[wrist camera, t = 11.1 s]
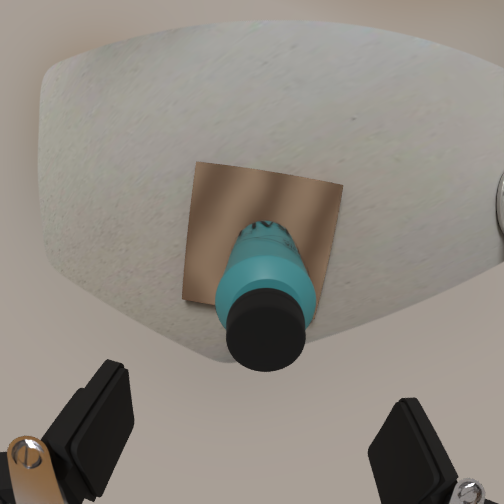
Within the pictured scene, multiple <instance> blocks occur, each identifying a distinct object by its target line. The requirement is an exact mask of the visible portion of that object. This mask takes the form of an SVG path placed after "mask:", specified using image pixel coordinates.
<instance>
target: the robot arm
mask: <svg viewBox="0 0 504 504" xmlns="http://www.w3.org/2000/svg"><path fill="white" fill-rule="evenodd" d="M497 215H498V221H499V225H500V227H501V230H502V232H503V234H504V173H503V175H502V178H501V180H500V184H499V187H498V193H497ZM133 426H134V414H133V407H132V399H131V391H130V383H129V372H128V369H125V368H124V365H123V364H122V363H119V362H115V361H112V360H109V359H107V360H106V361H105V362H104V363H103V364H102V366H101V367H100V368H99V369H98V371H97V372H96V373H95V375H94V376H93V377H92V379H91V380H90V381H89V383H88V384H87V385H86V387H85V388H80V389H78V390H77V391H76V393H75V394H74V395H73V396H72V398H71V399H70V400H69V402H68V403H67V404H66V406H65V407H64V408H63V410H62V411H61V413H60V414H59V415H58V417H57V418H56V419H55V421H54V422H53V423H52V425H51V426H50V428H49V429H48V430H47V432H46V433H45V435H44V436H43V437H42V439H41V440H39V439H38V438H35V437H32V436H21V437H18V438H16V439H14V440H13V441H12V442H11V443H10V444H9V447H8V449H7V452H0V504H82V502H83V500H84V498H85V499H88V500H90V501H92V502H94V501H95V499H96V497H101V496H102V494H103V493H104V490H105V488H106V486H107V484H108V481H109V479H110V477H111V475H112V473H113V470H114V468H115V466H116V464H117V461H118V459H119V457H120V455H121V453H122V451H123V449H124V446H125V444H126V442H127V440H128V438H129V436H130V434H131V432H132V429H133ZM368 457H369V461H370V464H371V468H372V471H373V475H374V478H375V482H376V485H377V489H378V493H379V496H380V500H381V504H498V503H495V502H492V501H490V500H487V499H485V491H484V488H483V486H482V484H480V483H479V482H478V481H476V480H474V479H470V478H466V479H463V480H461V481H459V482H457V480H456V479H457V478H458V475H457V473H456V471H455V469H454V467H453V465H452V463H451V461H450V459H449V457H448V455H447V453H446V451H445V449H444V447H443V445H442V443H441V441H440V439H439V437H438V436H437V433H436V432H435V430H434V428H433V426H432V424H431V422H430V421H429V419H428V417H427V415H426V413H425V412H424V410H423V408H422V406H421V404H420V403H419V401H418V399H417V398H401V399H400V400H399V402H397V403H395V405H394V406H393V408H392V410H391V412H390V414H389V415H388V417H387V419H386V421H385V422H384V424H383V426H382V428H381V429H380V431H379V432H378V434H377V435H376V437H375V439H374V440H373V442H372V444H371V445H370V446H369V449H368Z"/></svg>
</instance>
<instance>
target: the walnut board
mask: <svg viewBox="0 0 504 504" xmlns="http://www.w3.org/2000/svg"><path fill="white" fill-rule="evenodd" d="M342 190H343V185H340V184H335V183H330V182H325V181H320V180H315V179H309V178H304V177H299V176H293V175H287V174H281V173H275V172H269V171H263V170H256V169H250V168H243V167H235V166H228V165H220V164H212V163H204V162H196V167H195V175H194V182H193V190H192V198H191V206H190V215H189V224H188V233H187V243H186V254H185V265H184V277H183V291H182V299H183V300H189V301H195V302H200V303H206V304H212V305H215V296H216V290H217V287H218V284H219V282H220V280H221V278H222V277H223V274H224V271H225V269H226V266H227V263H228V260H229V257H230V254H231V251H232V250H233V249H232V248H233V247H234V245H235V243H236V240H237V238H238V236H239V234H238V233H240V231H241V230H243V229H244V228H246V227H245V226H248V225H250V224H252V223H255V222H258V221H261V220H263V221H268V220H269V221H271V222H273V221H274V222H275V223H276V222H277V223H278V222H279V223H278V224H280V225H281V226H283V227H284V228H285V227H286V229H287V230H288V232H289V233H290V235H291V237H292V239H293V240H294V239H295V240H294V242H295V246H296V248H297V247H298V248H297V249H298V250H299V252H298V253H300V252H301V254H300V255H301V256H302V258H301V260H303V259H304V260H303V261H302V262H303V264H304V266H305V269H306V271H307V272H308V271H309V272H308V273H309V275H311V276H309V275H308V276H309V278H310V280H311V281H312V284H313V286H314V289H315V293H316V308H315V312H314V315H313V318H312V319H314V318H315V314H316V310H317V306H318V302H319V298H320V294H321V290H322V286H323V282H324V278H325V273H326V269H327V265H328V260H329V256H330V251H331V246H332V242H333V237H334V232H335V227H336V222H337V217H338V212H339V206H340V201H341V196H342ZM257 220H258V221H257ZM251 222H252V223H251ZM249 223H250V224H249ZM242 228H243V229H242ZM236 236H237V238H236ZM235 239H236V240H235ZM296 244H297V245H296ZM230 250H231V251H230ZM301 256H300V257H301ZM226 260H227V261H226ZM304 261H305V262H304ZM306 265H307V267H306ZM307 268H308V269H307Z"/></svg>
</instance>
